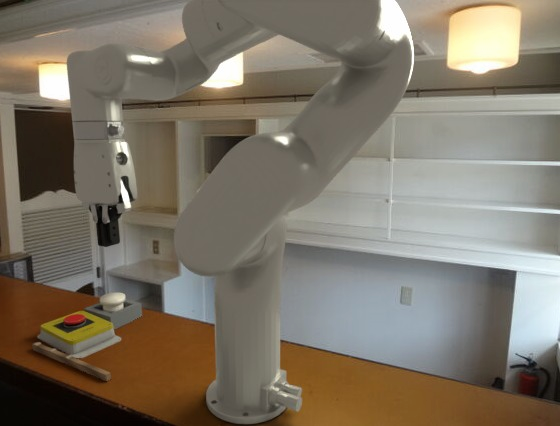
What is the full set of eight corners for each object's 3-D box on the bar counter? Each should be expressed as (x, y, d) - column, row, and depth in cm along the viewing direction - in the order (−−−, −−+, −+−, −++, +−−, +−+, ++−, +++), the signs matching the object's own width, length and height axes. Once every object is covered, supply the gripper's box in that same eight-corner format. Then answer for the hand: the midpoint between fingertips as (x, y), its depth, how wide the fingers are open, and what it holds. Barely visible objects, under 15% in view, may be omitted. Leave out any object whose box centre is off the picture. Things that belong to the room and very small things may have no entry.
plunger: (131, 312, 94) (130, 295, 93) (112, 320, 90) (110, 303, 89) (115, 307, 97) (114, 290, 96) (95, 315, 92) (94, 298, 92)
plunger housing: (142, 316, 95) (141, 303, 94) (111, 331, 88) (110, 316, 88) (116, 308, 99) (115, 296, 98) (85, 322, 92) (84, 308, 92)
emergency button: (78, 302, 92) (122, 320, 84) (80, 321, 93) (123, 341, 85) (32, 318, 85) (76, 339, 77) (35, 339, 86) (78, 362, 77)
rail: (111, 379, 72) (110, 371, 71) (106, 381, 71) (106, 373, 70) (37, 348, 81) (36, 341, 81) (32, 350, 81) (32, 343, 80)
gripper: (150, 132, 70) (158, 244, 74) (89, 133, 77) (98, 235, 81) (111, 133, 64) (121, 256, 67) (48, 134, 71) (61, 244, 75)
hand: (109, 244), depth 74 cm, fingers closed
